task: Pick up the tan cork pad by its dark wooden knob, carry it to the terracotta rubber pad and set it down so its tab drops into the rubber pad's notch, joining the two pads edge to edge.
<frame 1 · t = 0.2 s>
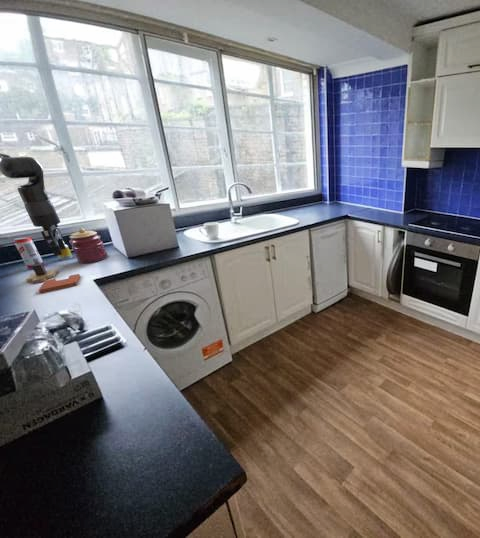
hand: (60, 252, 119), 18 cm above the table, tool pointing down, fingers open, 8 cm apart
cork pad: (43, 276, 142), on the table
kitchen canister: (93, 259, 163), on the table
rubber pad: (61, 284, 134), on the table
beer can: (36, 267, 155), on the table
supplement bottle: (66, 258, 166), on the table
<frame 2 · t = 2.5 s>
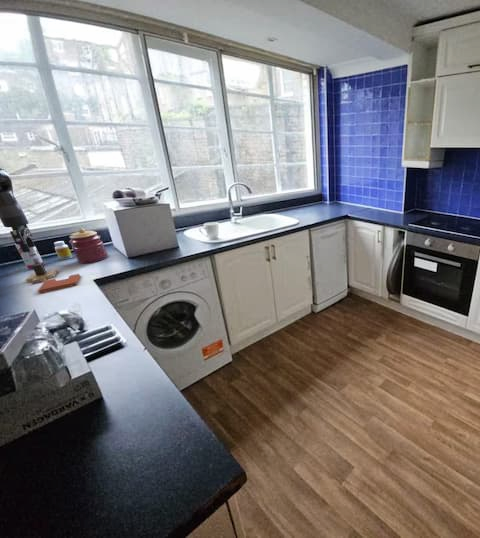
hand: (29, 249, 136), 14 cm above the table, tool pointing down, fingers open, 8 cm apart
nothing on the table moved.
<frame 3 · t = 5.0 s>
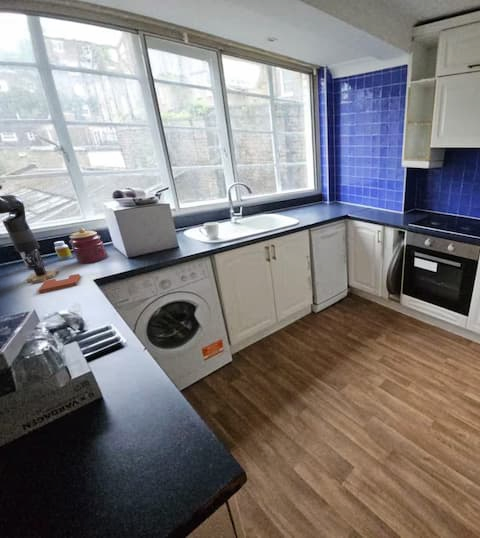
hand: (41, 273, 142), 2 cm above the table, tool pointing down, fingers closed on cork pad, 3 cm apart
cork pad: (43, 276, 142), on the table, touching gripper
everything else where it was.
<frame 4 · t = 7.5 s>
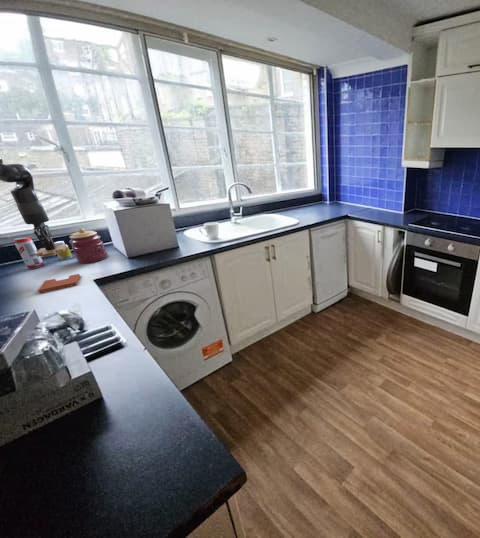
hand: (51, 248, 136), 14 cm above the table, tool pointing down, fingers closed on cork pad, 3 cm apart
cork pad: (52, 251, 137), point 13 cm above the table, touching gripper
everything else where it was.
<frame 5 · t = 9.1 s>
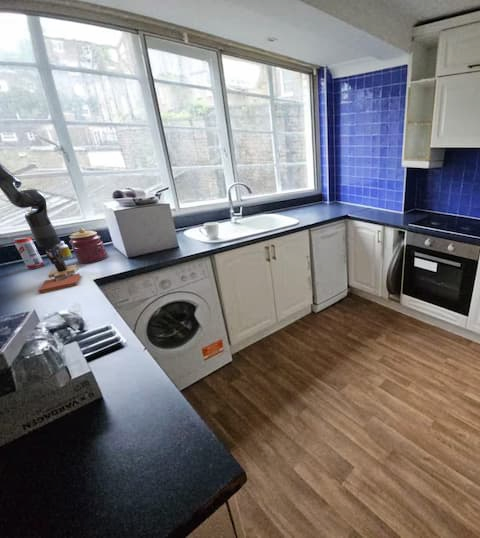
hand: (62, 269, 140), 4 cm above the table, tool pointing down, fingers closed on cork pad, 3 cm apart
cork pad: (63, 272, 141), point 2 cm above the table, touching gripper
everything else where it was.
when the fingers open (2 cm above the table, at t = 10.1 s): cork pad stays where it is, on the table.
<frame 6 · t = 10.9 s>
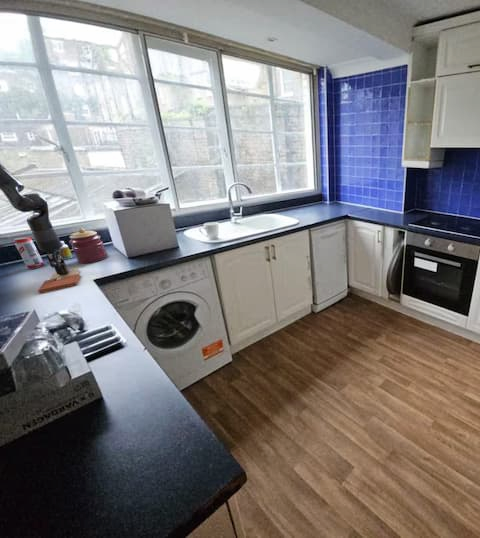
hand: (62, 271, 140), 3 cm above the table, tool pointing down, fingers open, 8 cm apart
cork pad: (65, 276, 142), on the table
everything else where it was.
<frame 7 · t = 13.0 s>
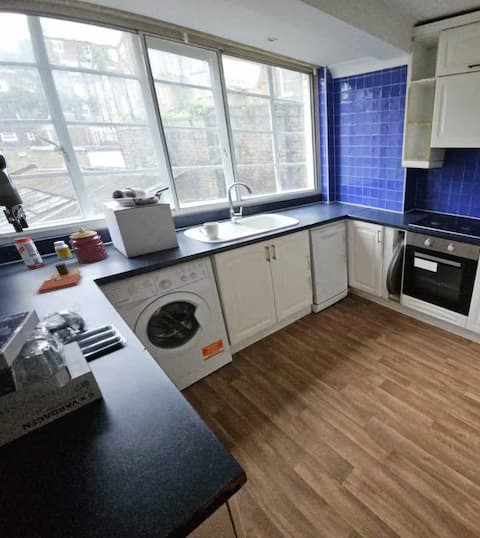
hand: (23, 230, 134), 23 cm above the table, tool pointing down, fingers open, 8 cm apart
nothing on the table moved.
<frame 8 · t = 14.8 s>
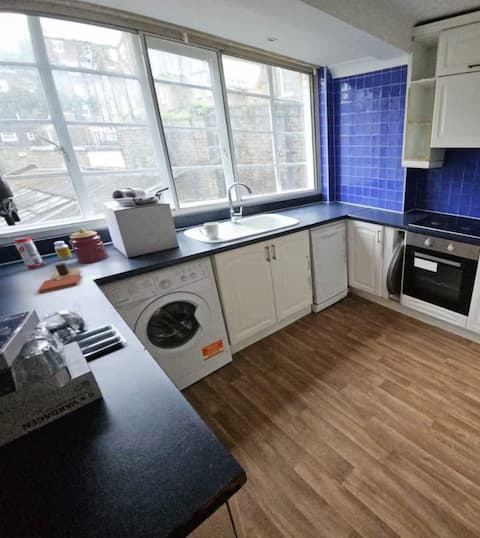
hand: (14, 223, 134), 26 cm above the table, tool pointing down, fingers open, 8 cm apart
nothing on the table moved.
at the end: cork pad 0.1 cm from the target spot on the table beside the rubber pad, on the table; cork pad tilted 0°; the gripper is holding nothing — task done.
